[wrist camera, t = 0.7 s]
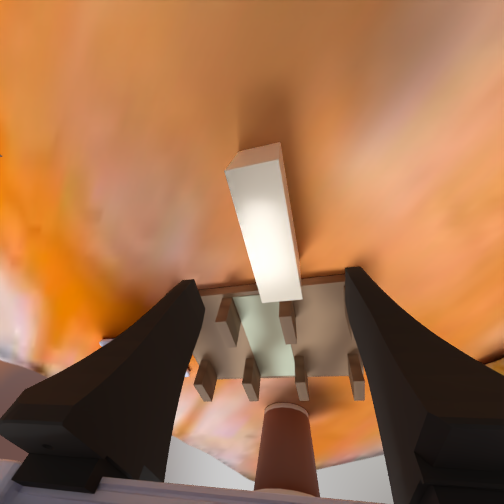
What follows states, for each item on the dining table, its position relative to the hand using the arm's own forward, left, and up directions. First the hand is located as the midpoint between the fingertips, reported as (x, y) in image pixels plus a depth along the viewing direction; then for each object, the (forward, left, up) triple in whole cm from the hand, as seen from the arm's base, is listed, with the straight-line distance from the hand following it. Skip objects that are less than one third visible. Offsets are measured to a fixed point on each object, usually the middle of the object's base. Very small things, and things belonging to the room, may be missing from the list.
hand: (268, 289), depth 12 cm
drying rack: (-3, -14, -9) cm, 17 cm away
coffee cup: (-4, -32, -10) cm, 34 cm away
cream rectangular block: (0, 0, -10) cm, 10 cm away
